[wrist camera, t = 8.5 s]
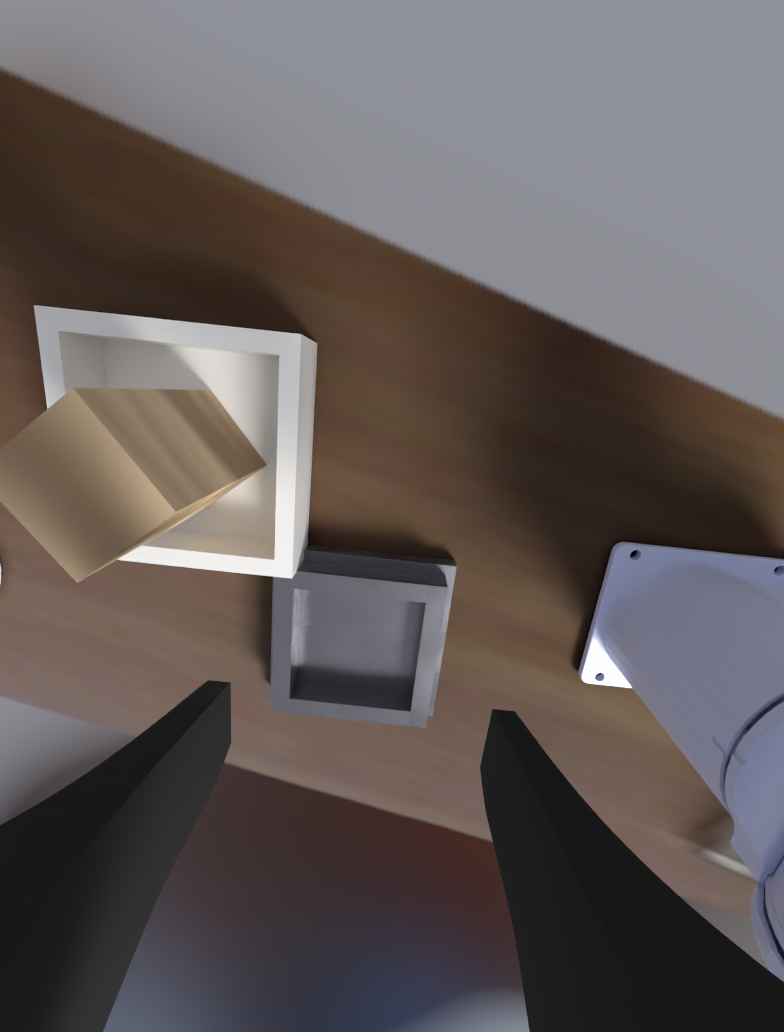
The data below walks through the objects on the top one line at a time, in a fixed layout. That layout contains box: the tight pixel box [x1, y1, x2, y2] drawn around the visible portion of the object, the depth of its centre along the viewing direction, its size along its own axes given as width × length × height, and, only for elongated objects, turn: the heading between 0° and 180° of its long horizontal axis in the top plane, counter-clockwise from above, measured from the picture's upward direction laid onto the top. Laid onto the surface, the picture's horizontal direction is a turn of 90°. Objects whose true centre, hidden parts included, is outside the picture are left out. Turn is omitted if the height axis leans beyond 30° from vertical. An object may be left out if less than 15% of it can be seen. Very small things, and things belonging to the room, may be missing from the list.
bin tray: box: [34, 305, 318, 579], centre depth 18 cm, size 10×10×3 cm
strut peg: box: [0, 388, 267, 583], centre depth 15 cm, size 4×4×8 cm
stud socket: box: [270, 544, 457, 728], centre depth 21 cm, size 9×9×2 cm
